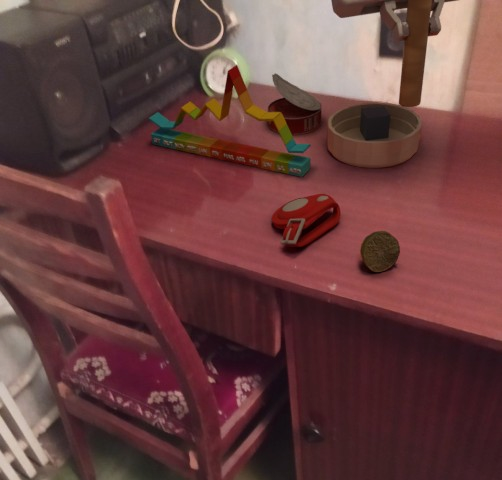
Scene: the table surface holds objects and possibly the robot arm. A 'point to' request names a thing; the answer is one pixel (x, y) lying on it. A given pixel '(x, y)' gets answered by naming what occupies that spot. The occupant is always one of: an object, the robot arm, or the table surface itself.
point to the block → (375, 123)
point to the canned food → (295, 108)
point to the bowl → (373, 151)
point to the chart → (230, 149)
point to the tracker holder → (305, 218)
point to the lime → (380, 251)
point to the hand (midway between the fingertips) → (418, 36)
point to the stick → (414, 52)
